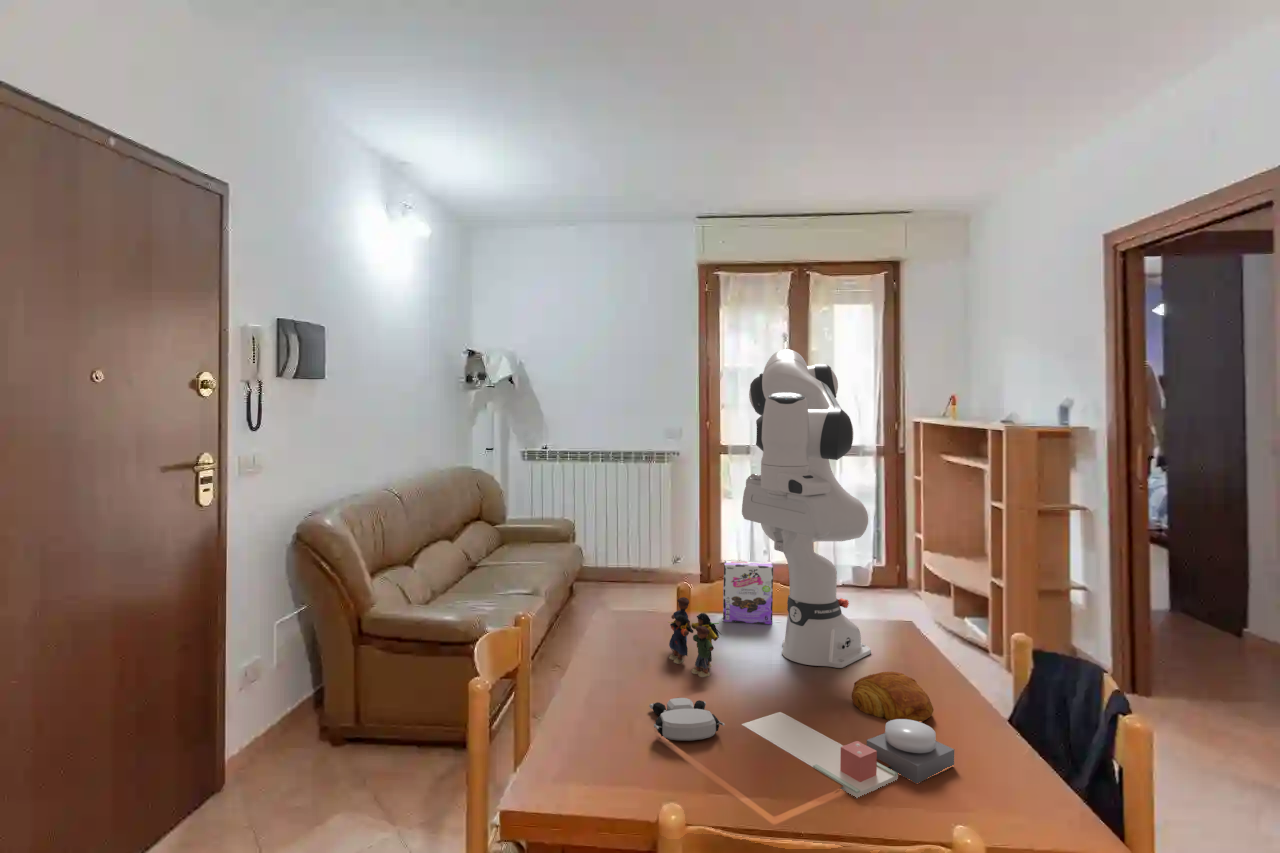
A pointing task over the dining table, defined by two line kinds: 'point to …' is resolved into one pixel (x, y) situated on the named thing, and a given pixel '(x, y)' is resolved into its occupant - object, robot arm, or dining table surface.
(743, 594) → the candy box
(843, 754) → the red die
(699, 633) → the doll family
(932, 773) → the base
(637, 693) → the dining table surface
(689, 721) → the robot toy
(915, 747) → the dome plunger
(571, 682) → the dining table surface
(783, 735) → the board
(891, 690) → the croissant
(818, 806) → the dining table surface
